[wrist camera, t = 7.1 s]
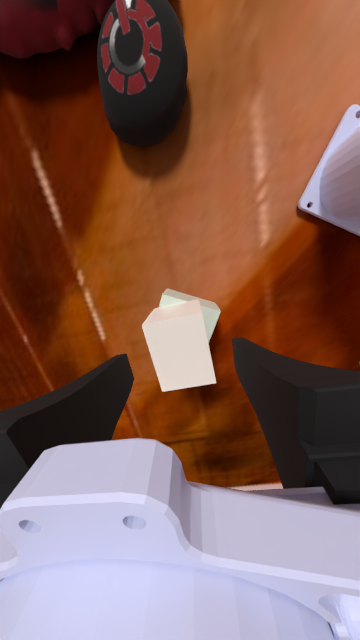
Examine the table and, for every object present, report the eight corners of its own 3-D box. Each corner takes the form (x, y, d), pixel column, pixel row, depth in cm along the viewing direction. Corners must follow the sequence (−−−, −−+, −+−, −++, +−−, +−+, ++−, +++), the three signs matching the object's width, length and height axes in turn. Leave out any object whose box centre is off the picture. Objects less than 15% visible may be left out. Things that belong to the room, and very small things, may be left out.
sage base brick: (215, 302, 21) (220, 311, 17) (199, 345, 23) (201, 361, 19) (167, 288, 21) (162, 293, 17) (155, 332, 23) (148, 346, 19)
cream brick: (198, 298, 17) (202, 312, 12) (209, 352, 19) (216, 383, 14) (154, 308, 18) (141, 325, 13) (168, 360, 19) (162, 391, 14)
